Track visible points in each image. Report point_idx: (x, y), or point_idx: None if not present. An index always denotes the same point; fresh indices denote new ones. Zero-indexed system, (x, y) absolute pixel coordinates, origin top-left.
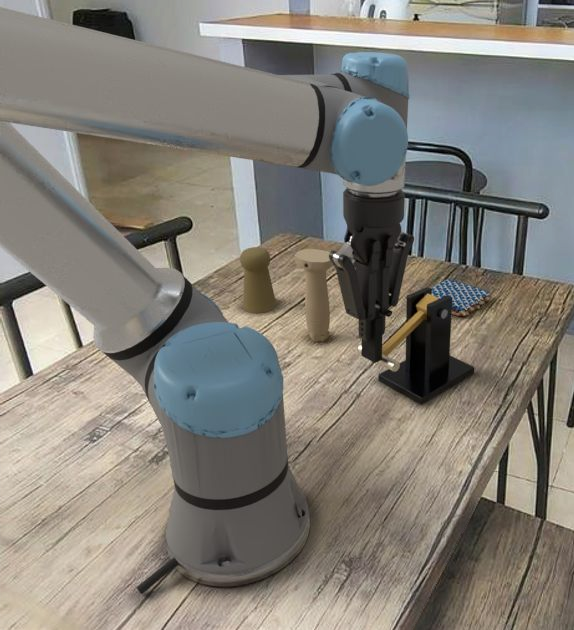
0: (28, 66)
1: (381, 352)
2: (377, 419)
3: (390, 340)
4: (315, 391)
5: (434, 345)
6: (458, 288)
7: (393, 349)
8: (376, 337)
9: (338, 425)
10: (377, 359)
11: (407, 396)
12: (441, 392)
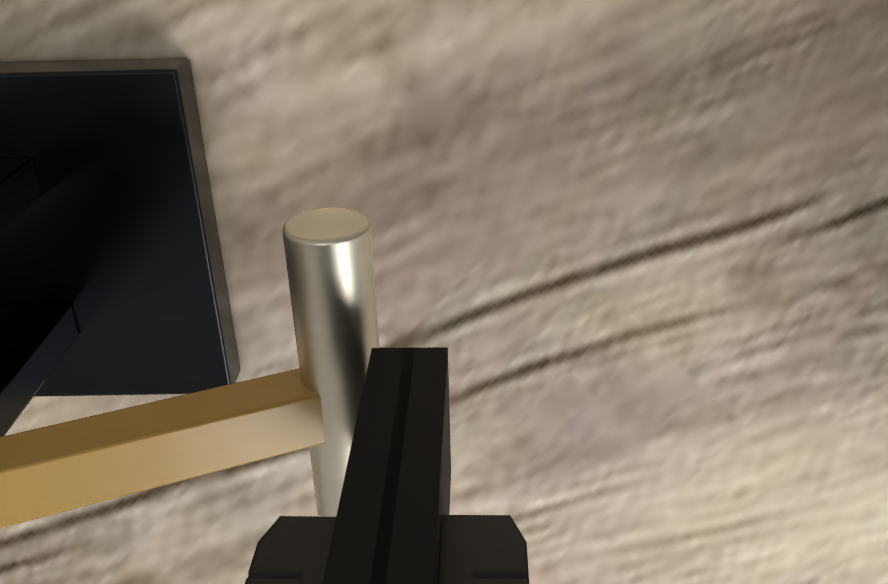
0: None
1: (370, 387)
2: (473, 131)
3: (184, 466)
4: (529, 484)
5: None
6: None
7: (203, 391)
8: (421, 504)
9: (651, 228)
10: (418, 360)
11: (206, 170)
12: (9, 62)
